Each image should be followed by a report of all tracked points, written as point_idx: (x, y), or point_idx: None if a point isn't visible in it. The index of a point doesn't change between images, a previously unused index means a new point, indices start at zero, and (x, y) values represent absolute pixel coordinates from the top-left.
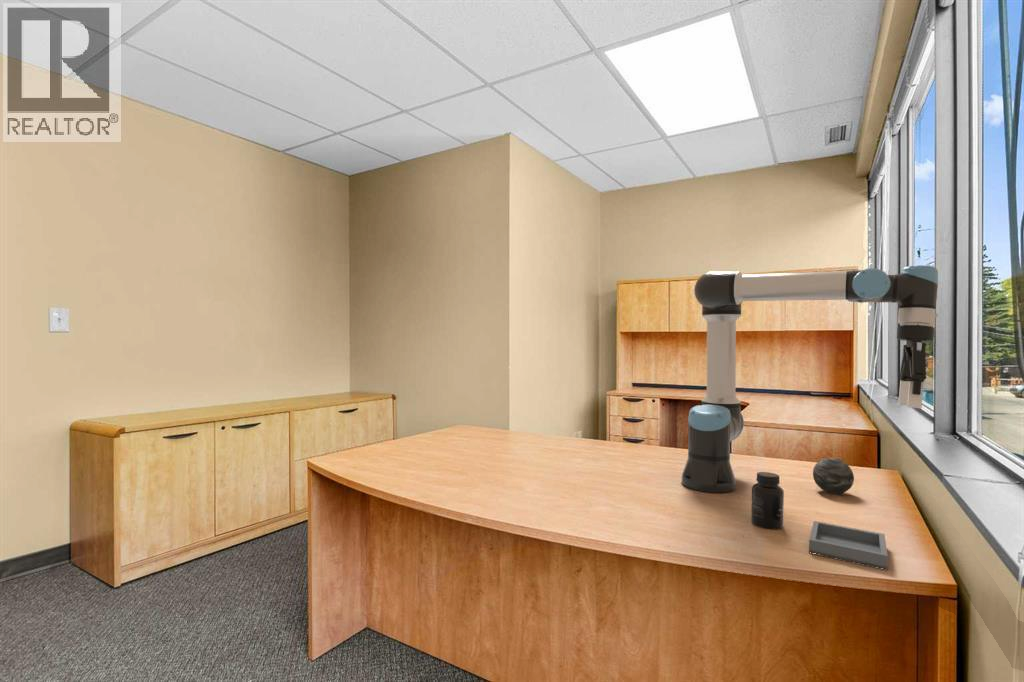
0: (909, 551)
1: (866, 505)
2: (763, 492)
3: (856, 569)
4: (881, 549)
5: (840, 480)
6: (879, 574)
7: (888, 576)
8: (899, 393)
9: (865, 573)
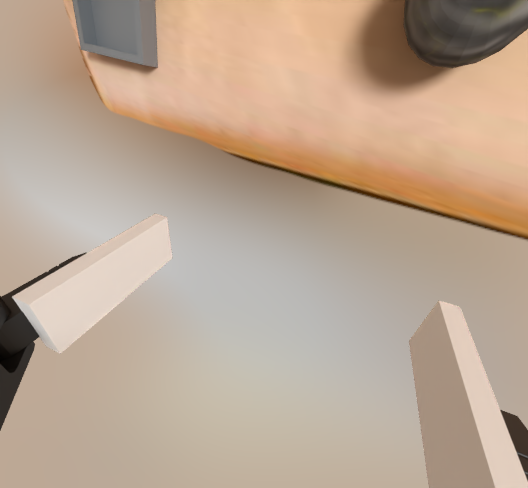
0: (161, 99)
1: (355, 89)
2: None
3: None
4: (93, 46)
5: (404, 14)
6: None
7: None
8: (476, 375)
9: None
